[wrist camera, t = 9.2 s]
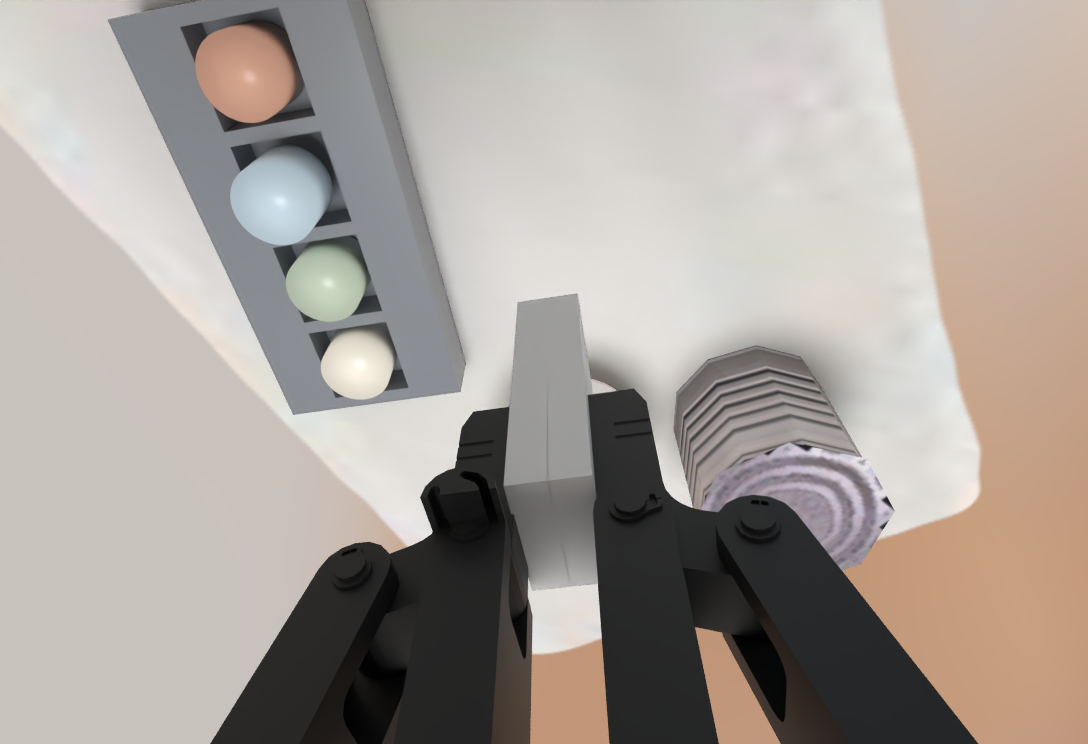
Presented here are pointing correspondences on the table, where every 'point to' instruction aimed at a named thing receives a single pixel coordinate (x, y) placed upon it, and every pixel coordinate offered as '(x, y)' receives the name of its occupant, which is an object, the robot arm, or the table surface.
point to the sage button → (328, 279)
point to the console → (356, 172)
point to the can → (778, 449)
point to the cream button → (359, 361)
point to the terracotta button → (249, 70)
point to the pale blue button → (282, 194)
